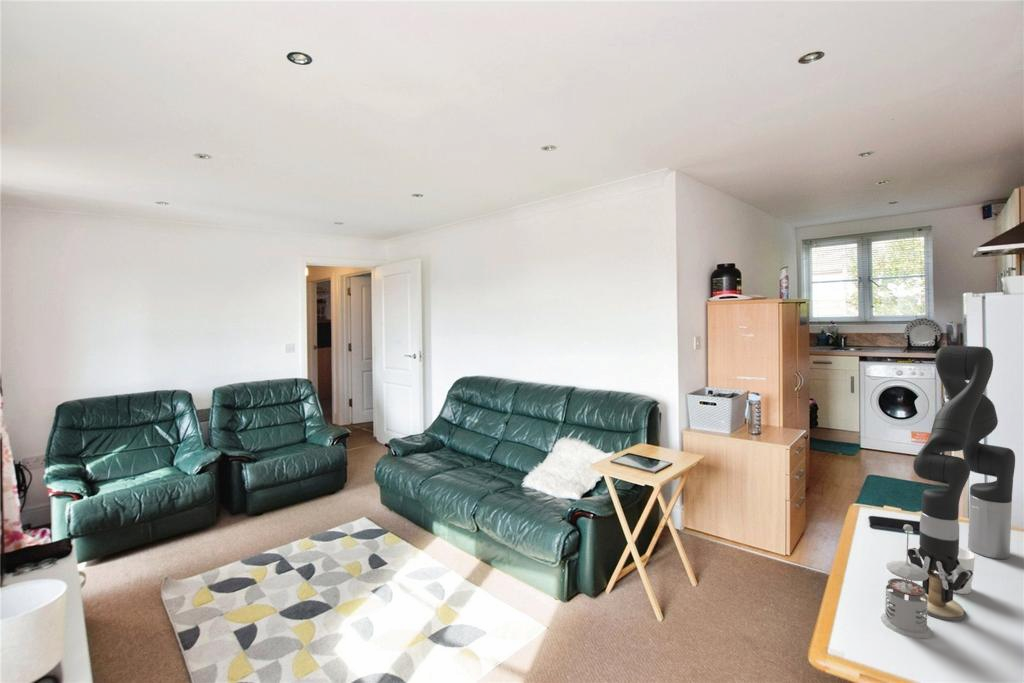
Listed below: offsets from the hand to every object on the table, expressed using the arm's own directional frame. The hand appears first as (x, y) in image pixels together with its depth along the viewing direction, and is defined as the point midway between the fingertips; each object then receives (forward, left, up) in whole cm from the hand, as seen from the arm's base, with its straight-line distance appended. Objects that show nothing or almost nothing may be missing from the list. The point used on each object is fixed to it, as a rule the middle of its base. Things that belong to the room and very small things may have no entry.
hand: (937, 597), depth 126 cm
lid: (0, 0, -2) cm, 2 cm away
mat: (0, 0, -3) cm, 3 cm away
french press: (+14, +1, -3) cm, 14 cm away
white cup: (-14, -4, -3) cm, 15 cm away
